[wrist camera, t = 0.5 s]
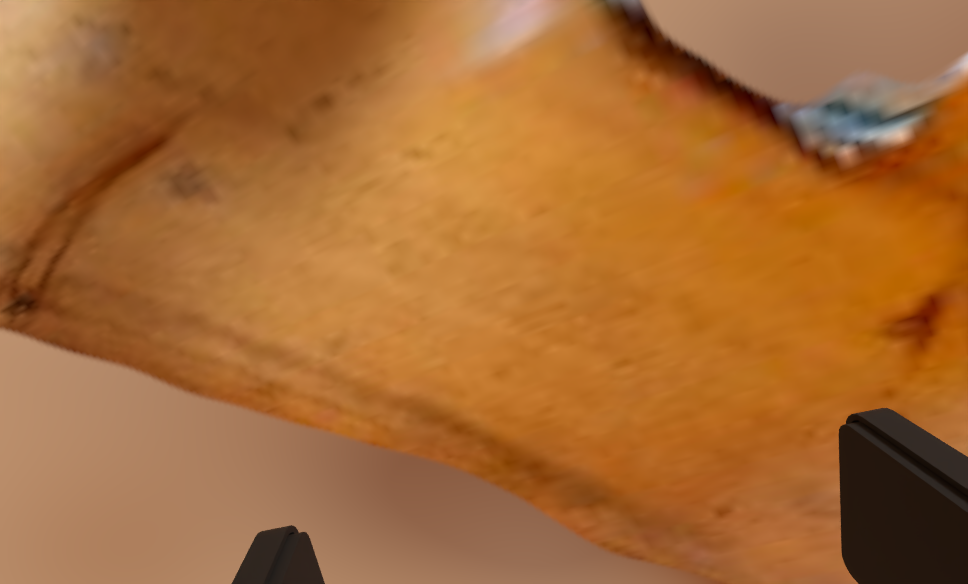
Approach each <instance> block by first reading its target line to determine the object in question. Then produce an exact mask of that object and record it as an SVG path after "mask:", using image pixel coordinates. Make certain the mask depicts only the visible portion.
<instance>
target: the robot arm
mask: <svg viewBox="0 0 968 584" xmlns="http://www.w3.org/2000/svg"><path fill="white" fill-rule="evenodd" d="M839 463H840V503H841V544H842V557H843V560H844V563H845V565H846V567H847V569H848V571H849V573H850V574H851V575H852V577H853V578H854V579H855V580H856V581H857V582H858V583H859V584H968V457H967V456H965V455H964V454H962V453H960V452H959V451H957V450H956V449H954V448H952V447H951V446H949V445H948V444H946V443H944V442H943V441H941V440H940V439H938V438H936V437H935V436H933V435H931V434H930V433H928V432H927V431H925V430H923V429H922V428H920V427H919V426H917V425H915V424H914V423H912V422H911V421H909V420H907V419H906V418H904V417H903V416H901V415H899V414H898V413H896V412H895V411H893V410H890V409H888V408H880V409H875V410H870V411H865V412H860V413H855V414H851V415H850V416H848V418H847V420H846V424H845V425H842V426H841V427H840V429H839ZM232 584H325V583H324V581H323V577H322V574H321V571H320V568H319V565H318V562H317V559H316V556H315V553H314V550H313V547H312V544H311V541H310V538H309V536H308V534H307V533H306V532H301V533H299V532H298V530H297V529H296V527H294V526H292V525H291V526H287V527H281V528H276V529H271V530H266V531H262V532H260V533H258V534H257V536H256V537H255V539H254V541H253V543H252V545H251V547H250V549H249V551H248V553H247V555H246V557H245V559H244V560H243V562H242V564H241V566H240V568H239V570H238V572H237V574H236V576H235V578H234V580H233V582H232Z"/></svg>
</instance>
